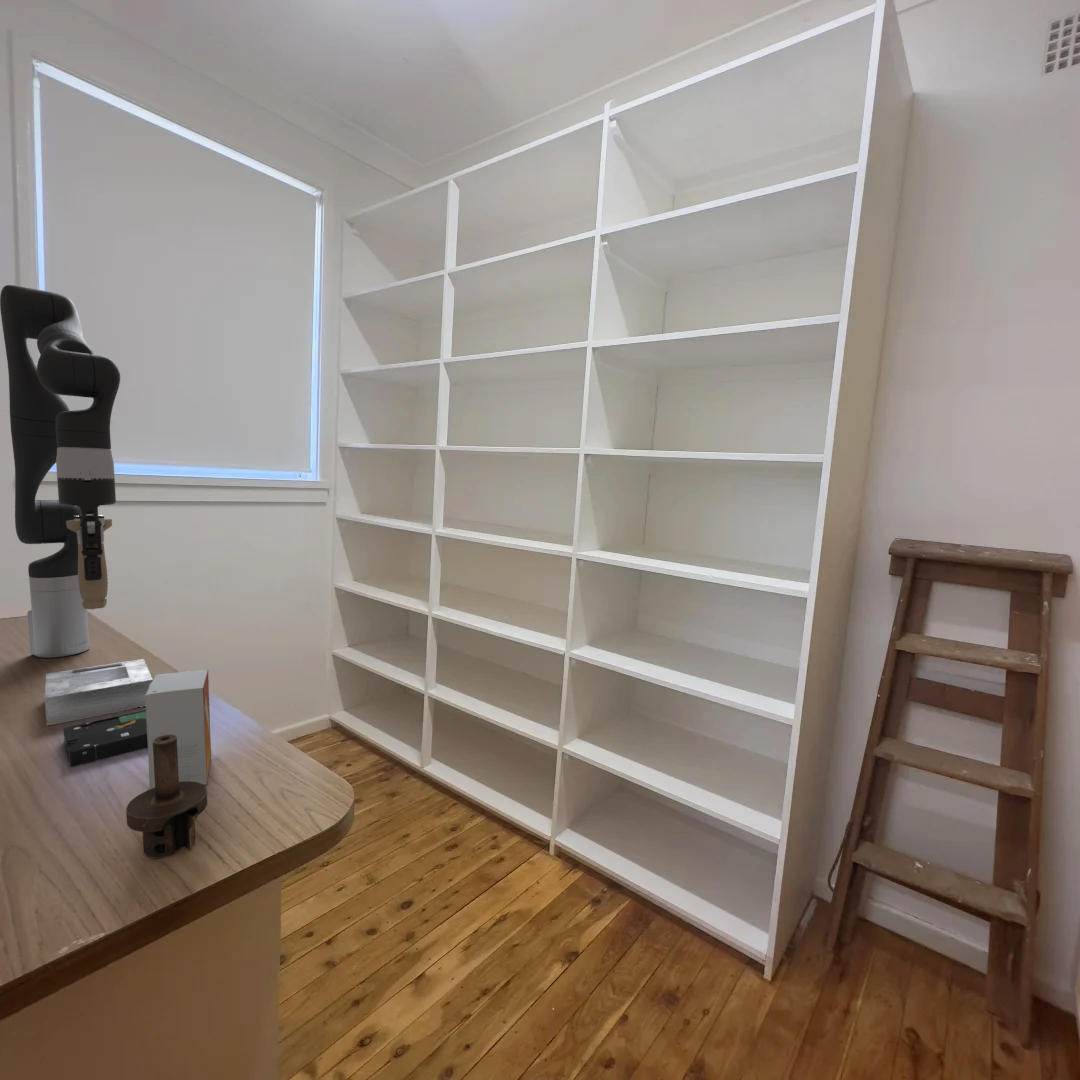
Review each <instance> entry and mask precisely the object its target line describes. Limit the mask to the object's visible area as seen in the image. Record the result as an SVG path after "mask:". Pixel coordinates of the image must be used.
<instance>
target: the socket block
mask: <svg viewBox="0 0 1080 1080" xmlns="http://www.w3.org/2000/svg"><path fill="white" fill-rule="evenodd" d="M45 675H46V676H45V689H44V706H45V720H46V727H48V725H49V726H53V725H58V724H65V723H68V722H74V721H79V720H85V719H89V718H95V717H99V716H105V715H110V714H114V713H120V712H125V711H124V710H126V711H130V710H129V709H131V710H133V709H132V708H136V709H138V708H137V707H141V706H145V705H146V701H145V695H146V693H147V691H148V688H149V685H150V684H151V682H152V681H153V679H154V678H153V677H152V675H151V673H150V670H149V668H148V665H147V664H146V661H145V659H144V658H141V659H133V660H128V661H127V660H126V661H122V662H121V661H120V662H119V661H118V662H114V663H107V664H101V665H93V666H87V667H82V668H81V667H80V668H74V669H68V670H62V671H55V672H48V673H46V674H45ZM141 708H142V707H141Z"/></svg>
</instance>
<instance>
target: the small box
mask: <svg viewBox="0 0 1080 1080" xmlns="http://www.w3.org/2000/svg"><path fill="white" fill-rule="evenodd" d="M152 679H153V681H152V682H151V684H150V685H149V688H148V691H147V693H146V695H145V701H146V707H145V710H146V722H147V741H148V748H147V751H148V752H147V753H148V756H147V757H148V778H149V790H150V789H152V788H155V777H154V756H153V740H154V739H155V738H157V737H160V736H163V735H176V736H177V752H178V773H179V774H178V775H179V782H183V781H191V782H198V783H201V784H203V785H204V786H205V785H207V784H208V779H209V778H208V777H209V772H210V765H211V761H212V740H211V739H212V738H211V715H210V714H211V713H210V691H209V690H210V687H209V685H210V684H209V681H210V680H209V669H198V670H189V671H178V672H169V673H168V672H167V673H160V674H155V676H154V677H153V678H152Z"/></svg>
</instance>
